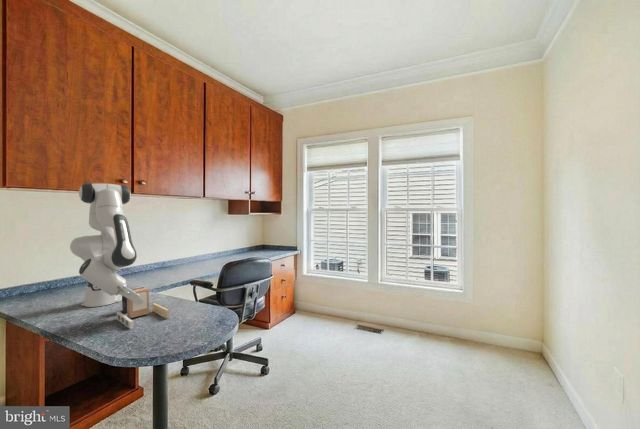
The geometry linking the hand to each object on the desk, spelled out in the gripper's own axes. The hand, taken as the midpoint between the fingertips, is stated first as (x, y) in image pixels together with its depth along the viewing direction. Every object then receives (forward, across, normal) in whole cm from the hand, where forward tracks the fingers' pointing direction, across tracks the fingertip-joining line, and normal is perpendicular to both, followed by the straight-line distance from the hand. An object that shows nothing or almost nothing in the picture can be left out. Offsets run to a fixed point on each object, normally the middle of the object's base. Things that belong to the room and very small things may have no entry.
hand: (139, 301), depth 142 cm
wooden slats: (+4, -6, +6) cm, 9 cm away
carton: (+4, 0, +5) cm, 6 cm away
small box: (+7, +13, +4) cm, 15 cm away
